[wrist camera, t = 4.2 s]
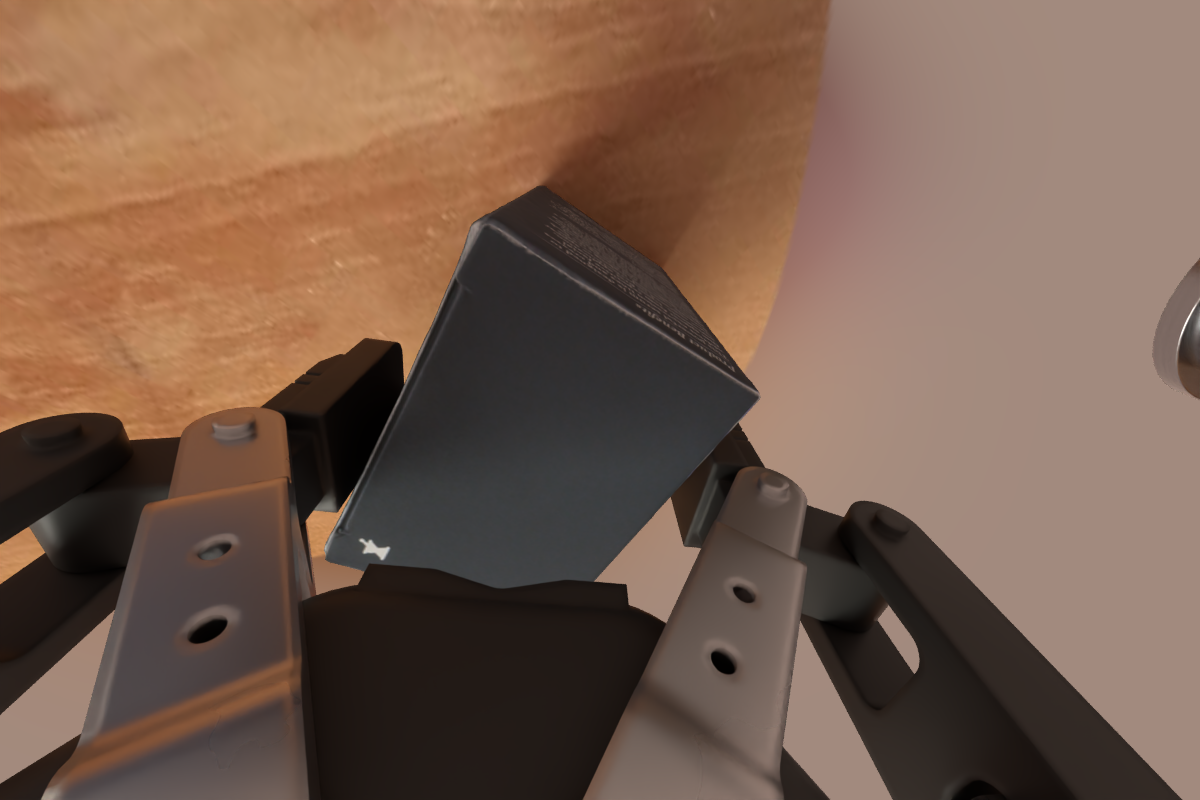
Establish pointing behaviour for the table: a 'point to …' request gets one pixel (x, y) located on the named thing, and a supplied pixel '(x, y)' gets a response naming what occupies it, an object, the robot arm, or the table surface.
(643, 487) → the box
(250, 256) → the table surface
